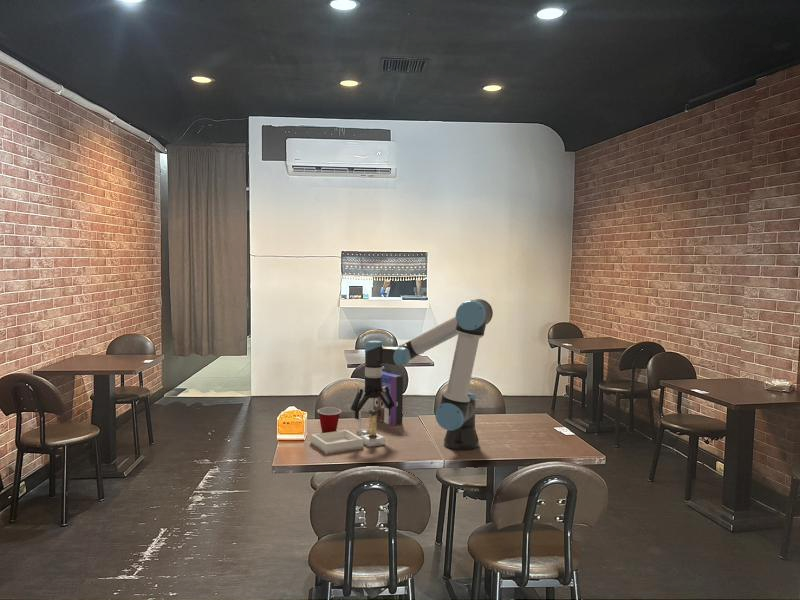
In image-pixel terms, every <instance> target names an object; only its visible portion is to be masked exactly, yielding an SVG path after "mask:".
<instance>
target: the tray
mask: <svg viewBox="0 0 800 600" xmlns="http://www.w3.org/2000/svg"><path fill="white" fill-rule="evenodd" d="M363 441H364V439H362V438H361V436H358V435H356V434H355V433H353V432H351V431H349V430H348V429H343V430H336V431H334V432H327V433H322V432H320V433H319V432H318V433H313V434H310V445H312V446H313V447H315V448H317V449H318V450H319V451H321V452H323V453H324V454H325V455H327V454H328V453H329V454H335V453H341V452H348V451H349V452H350V451H353V450H354V451H355V450H362V449H364V444H363ZM334 452H335V453H334Z"/></svg>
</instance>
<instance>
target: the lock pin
mask: <svg viewBox="0 0 800 600" xmlns="http://www.w3.org/2000/svg"><path fill="white" fill-rule="evenodd" d="M368 414H369V427H368V429H369V438H376V433H377V420H376V414H377V410H373V409H370V410H368Z"/></svg>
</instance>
